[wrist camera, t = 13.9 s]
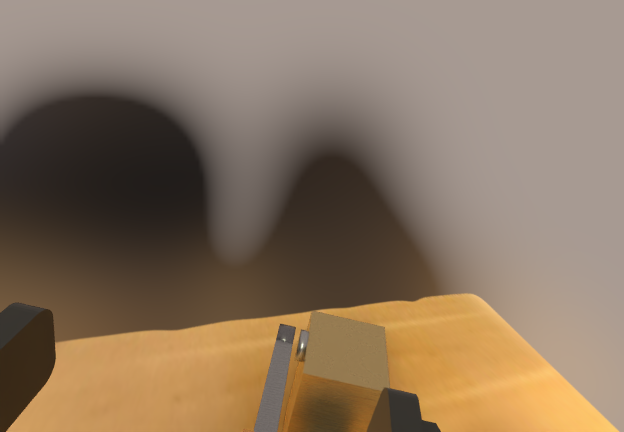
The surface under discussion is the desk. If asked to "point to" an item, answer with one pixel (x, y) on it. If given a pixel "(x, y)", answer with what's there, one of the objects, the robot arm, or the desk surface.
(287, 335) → the lever
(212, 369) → the desk surface
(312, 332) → the block
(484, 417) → the desk surface
